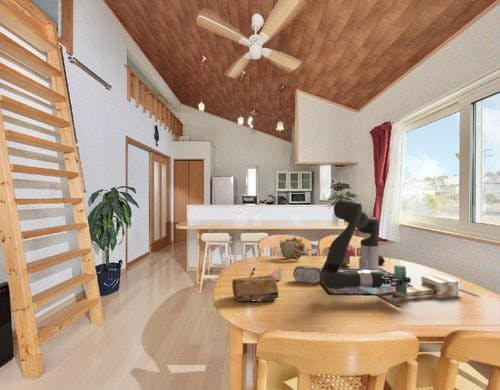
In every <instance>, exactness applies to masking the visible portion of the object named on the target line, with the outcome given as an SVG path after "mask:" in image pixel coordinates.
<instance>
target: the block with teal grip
mask: <svg viewBox="0 0 500 390" xmlns="http://www.w3.org/2000/svg"><path fill="white" fill-rule="evenodd" d="M406 268H407V267H406V266H405V265H401V264H397V265H394V266H393V271H394V272H393V274H394V275H395V276H396V277H407V269H406ZM407 284H408V283H403V285H401V286H394V287H395V288H393V289H392V291H393V296H395V297H397V298H399V297H411V296H422V295H434V294H433V289H431V288H429V287H426V286H424V285H423V286H422V285H417V286H416V285H415V286H410V287H408V285H407Z"/></svg>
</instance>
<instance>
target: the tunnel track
mask: <svg viewBox="0 0 500 390" xmlns="http://www.w3.org/2000/svg"><path fill="white" fill-rule="evenodd" d="M420 278H421V286H423V285H424V286H426V287H429V288H431V289H433V294H434V295H422V296H411V297H399V298H397V297H395V296H393V290H386V291H385V290H384V291H379V292H377V294H376V297H377V298H379V299H380V300H383V301H384V302H386V303H388V304H390V305H392V306H394V307H396V308H398V309H399V308H402V306H400V305H403V304H412V303H414V304H416V303H423V302H426V303H427V302H436V301H445V300H446V301H447V300H448V301H449V300H455V299H456V300H457V299H465V297H464V296H462V295H459V292H461V293H464V294H467V295H470V296H472V297H476V298H477V297H478V298H480V297H482V296H481V295H478V294H475V293H473V292H470V291H468V290H467V291H466V290H464V289H461V288H459V281H458V280H457V279H456V280H455V279H451V278H449V277H446V276H444V275H440V274H439V275H430V276H429V275H427V276H421V277H420Z"/></svg>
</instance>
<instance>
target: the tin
mask: <svg viewBox="0 0 500 390" xmlns="http://www.w3.org/2000/svg"><path fill="white" fill-rule="evenodd" d="M321 270H322V269H320V268H318V267H316V266H307V265H299V266H298V265H297V266H295V268H294V270H293V278H294V280H295V281H296V282H298V281H299V282H298V283H302V282H307V283H306V284H311V283H314V284H313V285H317V284H319V283H321V281H320V273H321Z"/></svg>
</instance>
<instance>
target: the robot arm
mask: <svg viewBox="0 0 500 390" xmlns="http://www.w3.org/2000/svg"><path fill="white" fill-rule="evenodd" d="M362 205H363V204H362V202H359V201H357V200H350V199H344V198H343V199H341V198H340V199H339V200H337V201H336V202H335V203H334V205H333V213H334V216H335V217H336V218H337V219H339V220H344V221H345V222H347V223H348V224H347V226H346V227H345V229H344V230H343V231H341V233H340V234H339V235H337V237H336V238H334V240H333V241H332V242H331V244H330V246H329V250H328V252H327V256H326V260H325V262H324V263H323V266H322V268H321V269H320V270H321V273H320V283H321V285H323V286H324V287H326V288H329V289H333V290H335V289H337V290H339V289H346V288H362V289H376V288H377V289H379V288H381V287H382V285H383V284H384V285H388V286H389V285H390V286H391V287H395V286H401V285H403V283H407V284H410V283H411V282H412V281H411V280H412V279H411V277H410V276H408V277H407V276H406V277H396V276H395V275H394V272H392V273H391V271H379V265H378V255H379V219H378V218H377V217H373V216H372V217H370V216H368V214H367V213H366V212H365V211H364V210H363V206H362ZM356 230H357V231H358V232H359V233H362V234H370V235H371V236H369V237H367V238H362V239H361V240H360V257H358V265H359V266H358V270H355V269H354V270H351V269H349V270H344V271H339V270H340V268H341V267H342V266H343V262H344V258H345V255H346V251H347V248H348V245H349V244H350V243H351V241H352V238H353V236H354V233H355V231H356Z"/></svg>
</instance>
